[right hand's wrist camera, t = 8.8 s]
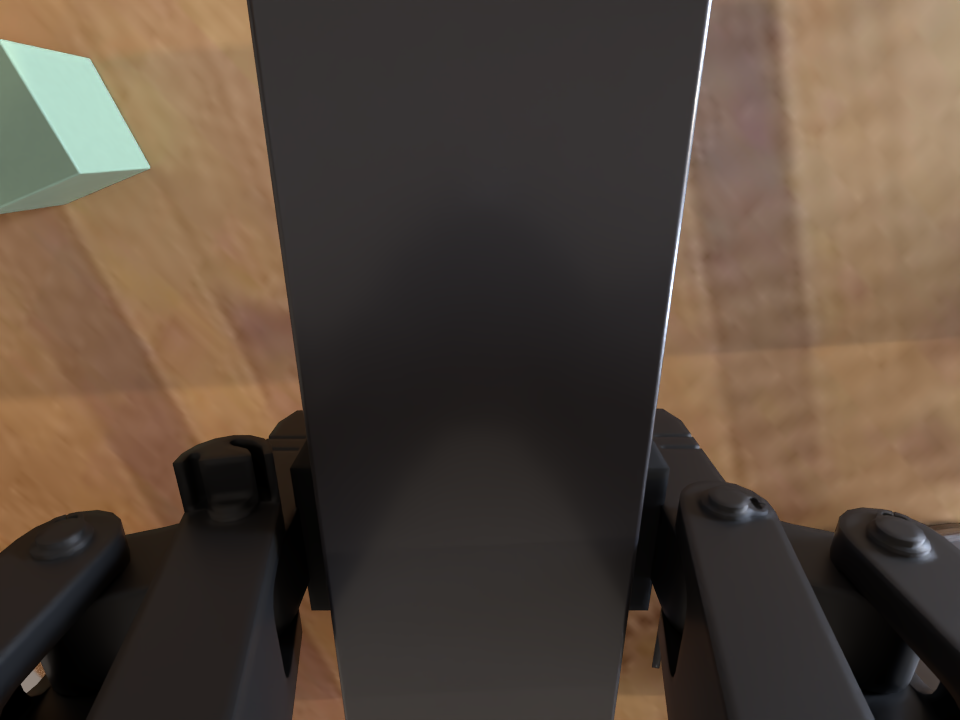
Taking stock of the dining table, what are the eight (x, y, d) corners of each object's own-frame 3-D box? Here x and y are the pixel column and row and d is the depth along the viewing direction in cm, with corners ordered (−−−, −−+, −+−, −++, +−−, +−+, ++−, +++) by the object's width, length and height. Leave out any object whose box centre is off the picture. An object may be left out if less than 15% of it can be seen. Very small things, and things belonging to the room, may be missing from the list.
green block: (90, 57, 24) (-2, 37, 20) (152, 168, 26) (81, 173, 21) (-2, 99, 25) (-112, 89, 20) (64, 204, 27) (-23, 218, 22)
